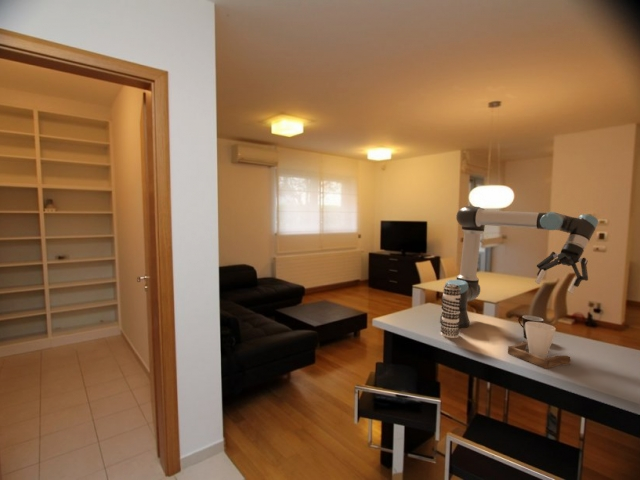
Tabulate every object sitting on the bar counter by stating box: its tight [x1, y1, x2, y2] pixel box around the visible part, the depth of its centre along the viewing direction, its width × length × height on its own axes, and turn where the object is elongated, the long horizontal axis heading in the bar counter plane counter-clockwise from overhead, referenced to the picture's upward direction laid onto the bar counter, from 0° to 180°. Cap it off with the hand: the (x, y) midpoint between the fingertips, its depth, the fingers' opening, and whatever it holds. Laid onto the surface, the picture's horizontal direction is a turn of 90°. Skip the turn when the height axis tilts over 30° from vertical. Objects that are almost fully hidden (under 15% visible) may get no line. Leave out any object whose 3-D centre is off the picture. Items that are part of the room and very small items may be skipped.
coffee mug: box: [518, 315, 545, 340], centre depth 158 cm, size 12×9×10 cm
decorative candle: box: [440, 284, 462, 339], centre depth 158 cm, size 9×9×25 cm
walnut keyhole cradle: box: [507, 340, 571, 370], centre depth 134 cm, size 19×14×3 cm
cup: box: [525, 322, 557, 359], centre depth 134 cm, size 10×10×14 cm
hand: (552, 287), depth 144 cm, fingers open, 13 cm apart
